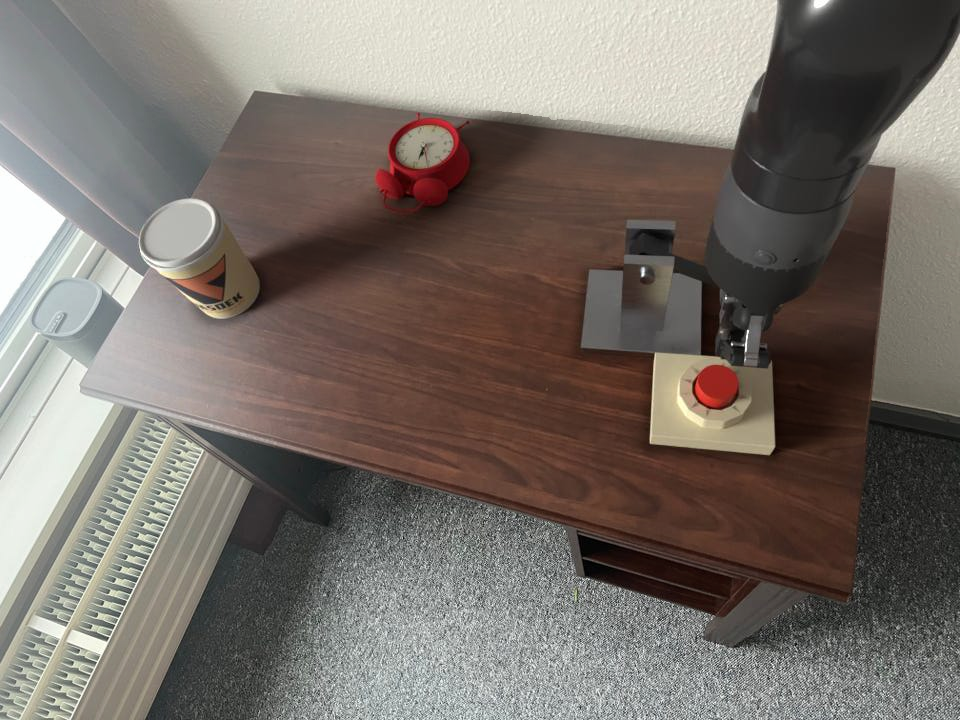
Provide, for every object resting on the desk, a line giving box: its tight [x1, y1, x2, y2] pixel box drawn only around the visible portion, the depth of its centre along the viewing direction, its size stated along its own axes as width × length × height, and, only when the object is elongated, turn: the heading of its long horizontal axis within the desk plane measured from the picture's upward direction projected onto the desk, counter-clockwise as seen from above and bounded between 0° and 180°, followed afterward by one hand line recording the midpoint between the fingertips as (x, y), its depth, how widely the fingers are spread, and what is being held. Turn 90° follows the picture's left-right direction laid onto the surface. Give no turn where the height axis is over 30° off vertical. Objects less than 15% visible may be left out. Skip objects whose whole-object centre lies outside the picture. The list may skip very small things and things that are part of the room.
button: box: [695, 365, 739, 408], centre depth 63 cm, size 4×4×2 cm
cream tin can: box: [138, 197, 261, 320], centre depth 77 cm, size 9×9×12 cm
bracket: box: [580, 219, 703, 359], centre depth 67 cm, size 12×10×13 cm
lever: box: [629, 233, 720, 289], centre depth 64 cm, size 14×3×3 cm, turn 81°
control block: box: [649, 352, 776, 456], centre depth 65 cm, size 11×9×4 cm
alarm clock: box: [374, 112, 471, 214], centre depth 85 cm, size 10×6×15 cm
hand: (727, 350), depth 58 cm, fingers closed
